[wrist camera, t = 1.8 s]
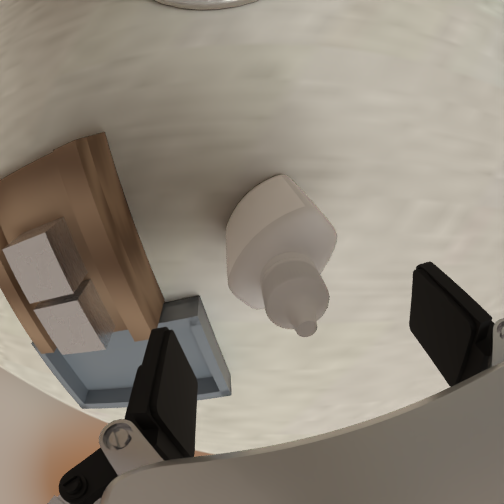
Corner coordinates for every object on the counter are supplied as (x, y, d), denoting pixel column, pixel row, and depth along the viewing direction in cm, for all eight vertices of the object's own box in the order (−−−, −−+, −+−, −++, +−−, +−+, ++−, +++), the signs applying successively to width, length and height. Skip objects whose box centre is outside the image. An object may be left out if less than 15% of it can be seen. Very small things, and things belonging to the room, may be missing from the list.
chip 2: (48, 289, 19) (33, 309, 16) (90, 279, 18) (77, 300, 16) (73, 332, 20) (62, 354, 18) (115, 326, 20) (106, 349, 18)
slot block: (-2, 183, 18) (-37, 202, 14) (104, 132, 17) (74, 140, 13) (60, 320, 23) (41, 353, 19) (164, 299, 23) (154, 338, 19)
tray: (42, 326, 24) (31, 343, 21) (199, 295, 23) (197, 316, 21) (88, 391, 28) (82, 408, 25) (230, 374, 27) (231, 395, 25)
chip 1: (21, 233, 17) (2, 249, 14) (63, 216, 16) (44, 232, 14) (45, 283, 18) (29, 303, 16) (87, 272, 18) (73, 293, 16)
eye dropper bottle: (212, 193, 20) (201, 301, 9) (296, 168, 20) (380, 247, 9) (233, 251, 22) (244, 389, 11) (310, 228, 22) (385, 345, 11)
